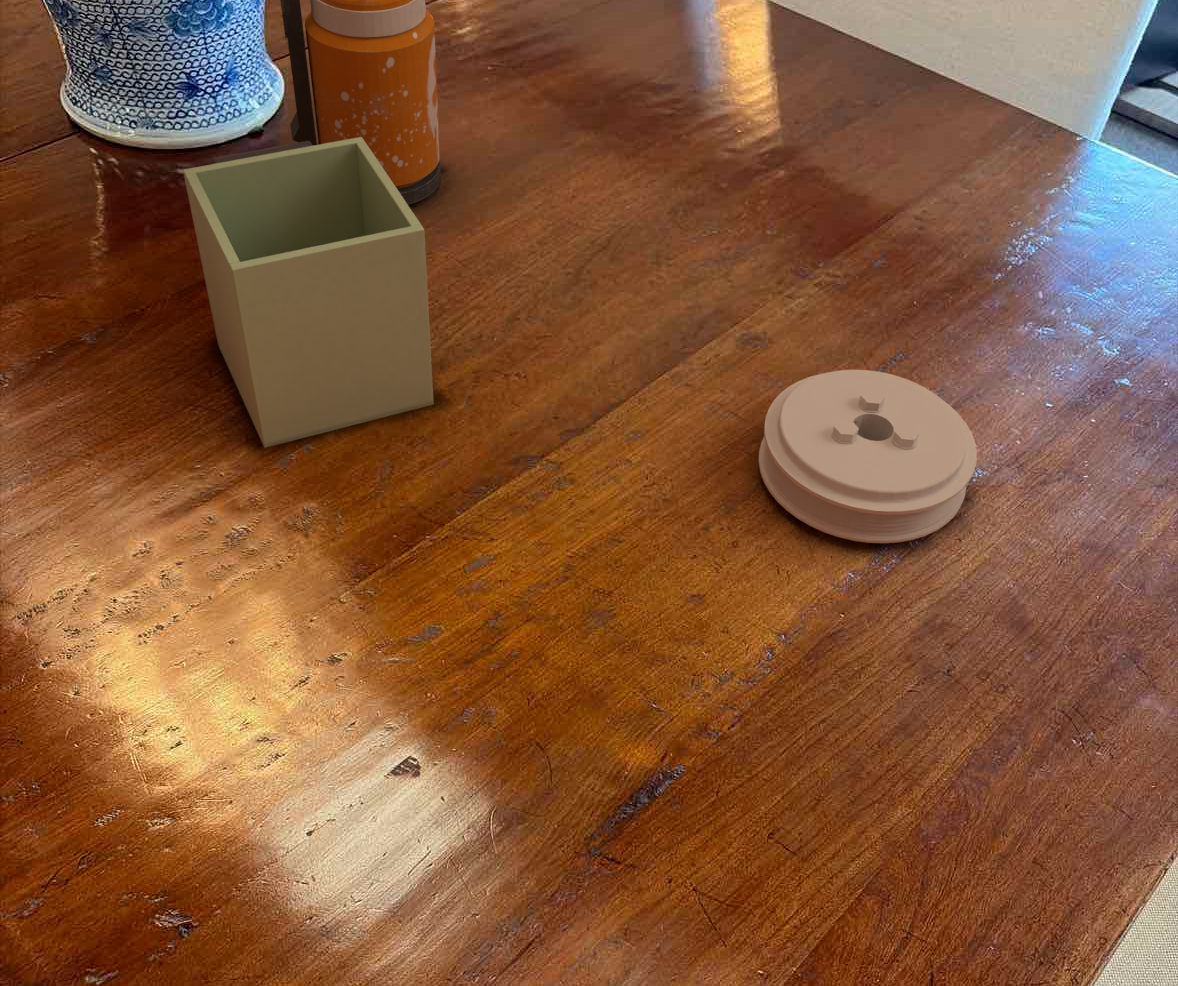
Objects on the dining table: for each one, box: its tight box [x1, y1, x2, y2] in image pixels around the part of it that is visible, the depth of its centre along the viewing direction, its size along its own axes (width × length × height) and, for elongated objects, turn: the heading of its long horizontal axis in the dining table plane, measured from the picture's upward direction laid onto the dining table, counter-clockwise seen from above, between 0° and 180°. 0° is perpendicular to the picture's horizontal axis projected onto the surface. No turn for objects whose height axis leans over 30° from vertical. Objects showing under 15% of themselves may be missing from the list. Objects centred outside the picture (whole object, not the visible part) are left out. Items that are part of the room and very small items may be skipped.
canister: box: [280, 0, 442, 206], centre depth 93 cm, size 9×11×20 cm
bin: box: [182, 137, 435, 449], centre depth 81 cm, size 13×11×15 cm
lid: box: [758, 369, 978, 544], centre depth 79 cm, size 13×13×5 cm
